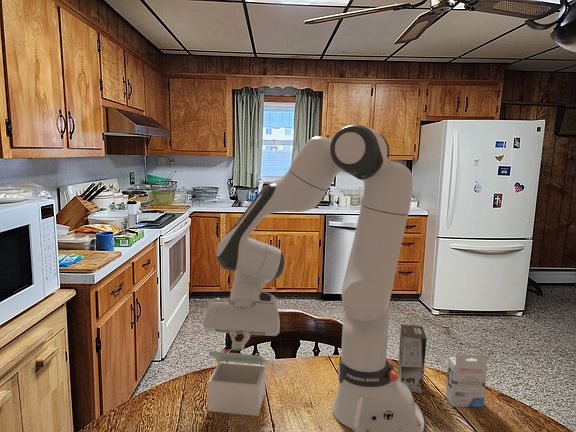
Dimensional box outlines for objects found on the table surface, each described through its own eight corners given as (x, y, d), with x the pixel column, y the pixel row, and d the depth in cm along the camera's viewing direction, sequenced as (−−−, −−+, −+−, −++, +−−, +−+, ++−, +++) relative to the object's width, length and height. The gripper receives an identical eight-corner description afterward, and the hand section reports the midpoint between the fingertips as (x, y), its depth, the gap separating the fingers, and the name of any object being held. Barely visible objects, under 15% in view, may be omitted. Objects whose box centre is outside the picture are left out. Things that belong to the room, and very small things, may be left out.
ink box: (475, 396, 110) (480, 346, 108) (483, 407, 106) (489, 355, 103) (444, 395, 110) (448, 345, 108) (451, 407, 106) (456, 354, 103)
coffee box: (423, 393, 111) (427, 338, 109) (399, 390, 113) (402, 336, 110) (419, 376, 120) (423, 325, 118) (397, 373, 121) (400, 323, 119)
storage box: (265, 392, 110) (265, 365, 109) (258, 416, 100) (258, 386, 99) (219, 388, 111) (219, 361, 110) (208, 411, 102) (207, 381, 100)
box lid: (266, 364, 109) (266, 361, 109) (260, 359, 100) (261, 355, 100) (218, 360, 110) (219, 357, 111) (209, 354, 101) (210, 351, 102)
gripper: (206, 292, 109) (195, 342, 101) (280, 296, 107) (275, 348, 99) (211, 302, 114) (201, 351, 106) (282, 306, 112) (277, 356, 104)
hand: (237, 349), depth 102 cm, fingers closed
